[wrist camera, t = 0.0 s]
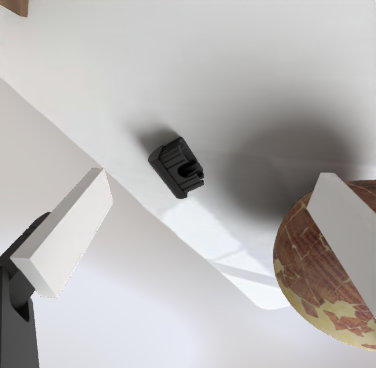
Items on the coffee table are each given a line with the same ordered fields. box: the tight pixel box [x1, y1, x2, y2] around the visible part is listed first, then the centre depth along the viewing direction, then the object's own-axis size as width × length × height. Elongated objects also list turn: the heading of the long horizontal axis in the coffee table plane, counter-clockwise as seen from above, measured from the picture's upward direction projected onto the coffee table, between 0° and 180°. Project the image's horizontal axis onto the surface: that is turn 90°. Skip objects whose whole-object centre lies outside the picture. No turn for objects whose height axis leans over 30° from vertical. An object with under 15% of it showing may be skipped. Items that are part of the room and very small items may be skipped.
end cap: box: [148, 137, 204, 199], centre depth 41 cm, size 10×7×7 cm
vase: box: [273, 180, 376, 352], centre depth 35 cm, size 28×27×30 cm
